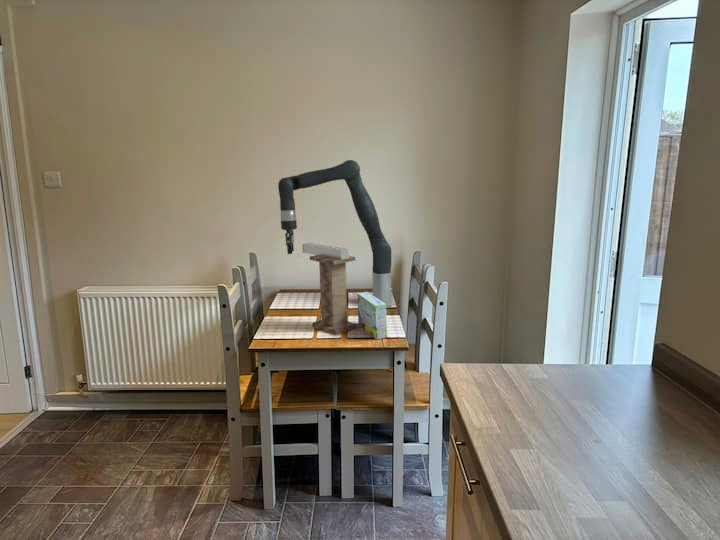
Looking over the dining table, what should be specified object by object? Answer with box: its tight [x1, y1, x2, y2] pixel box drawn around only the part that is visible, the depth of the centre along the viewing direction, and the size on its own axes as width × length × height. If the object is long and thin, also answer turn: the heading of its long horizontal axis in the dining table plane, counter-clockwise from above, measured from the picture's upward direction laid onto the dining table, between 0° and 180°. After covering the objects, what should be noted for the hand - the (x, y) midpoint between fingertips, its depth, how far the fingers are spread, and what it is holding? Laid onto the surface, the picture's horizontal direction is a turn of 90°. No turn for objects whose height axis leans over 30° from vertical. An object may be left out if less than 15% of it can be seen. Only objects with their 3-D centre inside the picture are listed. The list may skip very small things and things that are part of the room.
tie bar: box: [301, 242, 349, 260], centre depth 210 cm, size 26×4×4 cm, turn 44°
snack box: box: [356, 291, 388, 341], centre depth 206 cm, size 21×6×15 cm, turn 21°
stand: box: [309, 255, 358, 336], centre depth 210 cm, size 16×12×32 cm
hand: (290, 252), depth 236 cm, fingers open, 8 cm apart
